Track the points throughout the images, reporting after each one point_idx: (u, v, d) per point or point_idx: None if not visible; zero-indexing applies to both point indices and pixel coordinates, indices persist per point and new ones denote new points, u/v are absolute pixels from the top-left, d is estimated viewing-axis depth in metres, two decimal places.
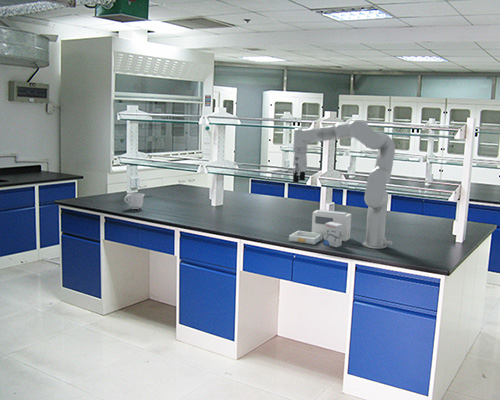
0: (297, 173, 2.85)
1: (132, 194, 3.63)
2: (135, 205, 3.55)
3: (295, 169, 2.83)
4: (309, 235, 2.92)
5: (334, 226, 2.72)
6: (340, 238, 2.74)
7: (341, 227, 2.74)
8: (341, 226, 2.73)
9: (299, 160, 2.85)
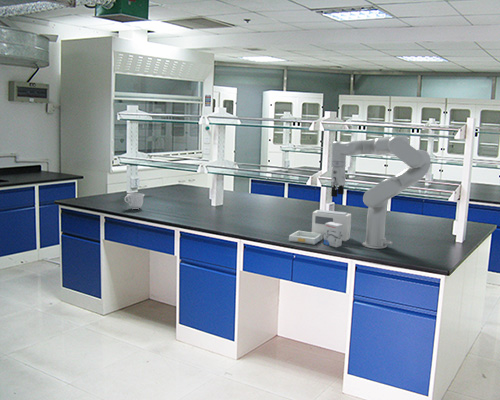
0: (335, 187, 2.79)
1: (132, 194, 3.63)
2: (135, 205, 3.55)
3: (333, 183, 2.77)
4: (309, 235, 2.92)
5: (334, 226, 2.72)
6: (340, 238, 2.74)
7: (341, 227, 2.74)
8: (341, 226, 2.73)
9: (337, 174, 2.78)
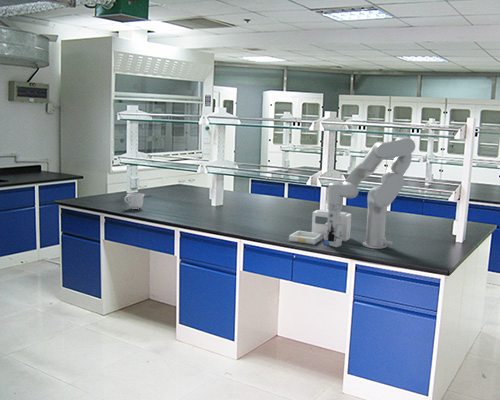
0: (332, 232, 2.71)
1: (132, 194, 3.63)
2: (135, 205, 3.55)
3: (330, 229, 2.69)
4: (309, 235, 2.92)
5: None
6: (340, 238, 2.74)
7: (341, 227, 2.74)
8: (341, 226, 2.73)
9: (334, 217, 2.70)
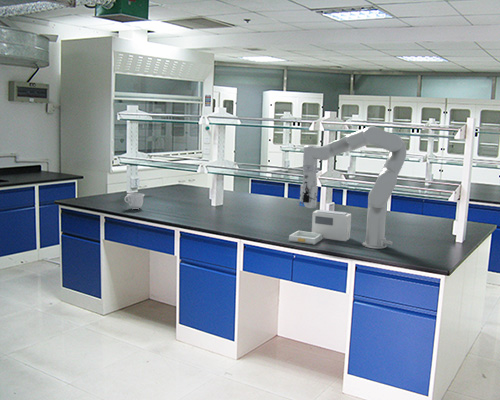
0: (307, 193, 2.77)
1: (132, 194, 3.63)
2: (135, 205, 3.55)
3: (305, 190, 2.75)
4: (309, 235, 2.92)
5: None
6: (315, 199, 2.80)
7: (316, 189, 2.79)
8: (316, 187, 2.79)
9: (309, 178, 2.75)
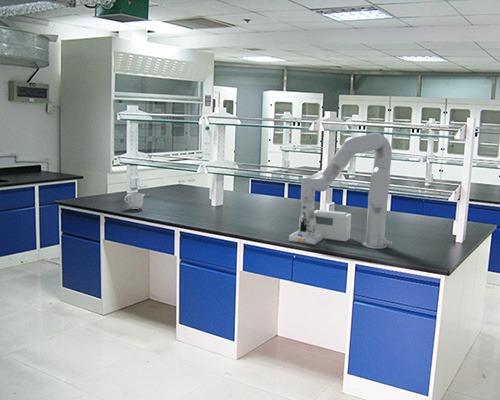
0: (304, 222, 2.79)
1: (132, 194, 3.63)
2: (135, 205, 3.55)
3: (302, 219, 2.77)
4: None
5: None
6: (314, 232, 2.84)
7: (315, 222, 2.83)
8: (314, 220, 2.83)
9: (306, 209, 2.78)
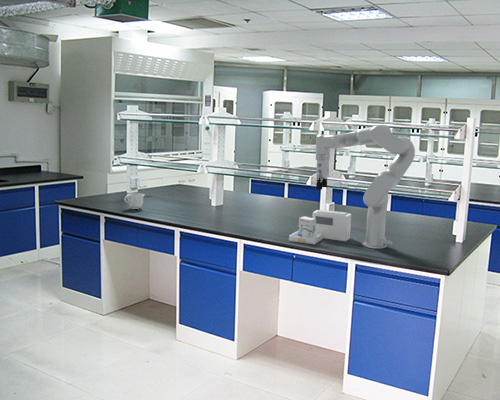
0: (321, 180, 2.82)
1: (132, 194, 3.63)
2: (135, 205, 3.55)
3: (319, 176, 2.80)
4: None
5: (308, 220, 2.81)
6: (314, 232, 2.84)
7: (315, 222, 2.83)
8: (314, 220, 2.83)
9: (322, 167, 2.82)
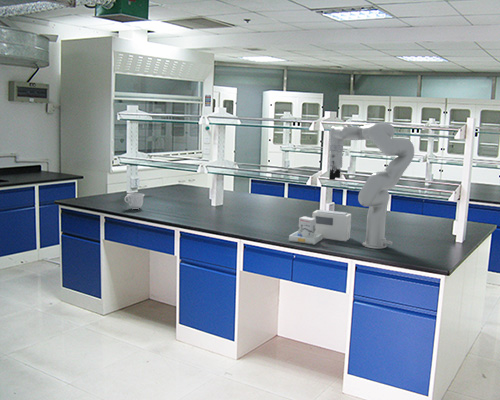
0: (333, 170, 2.90)
1: (132, 194, 3.63)
2: (135, 205, 3.55)
3: (332, 166, 2.88)
4: None
5: (308, 220, 2.81)
6: (314, 232, 2.84)
7: (315, 222, 2.83)
8: (314, 220, 2.83)
9: (336, 158, 2.89)
